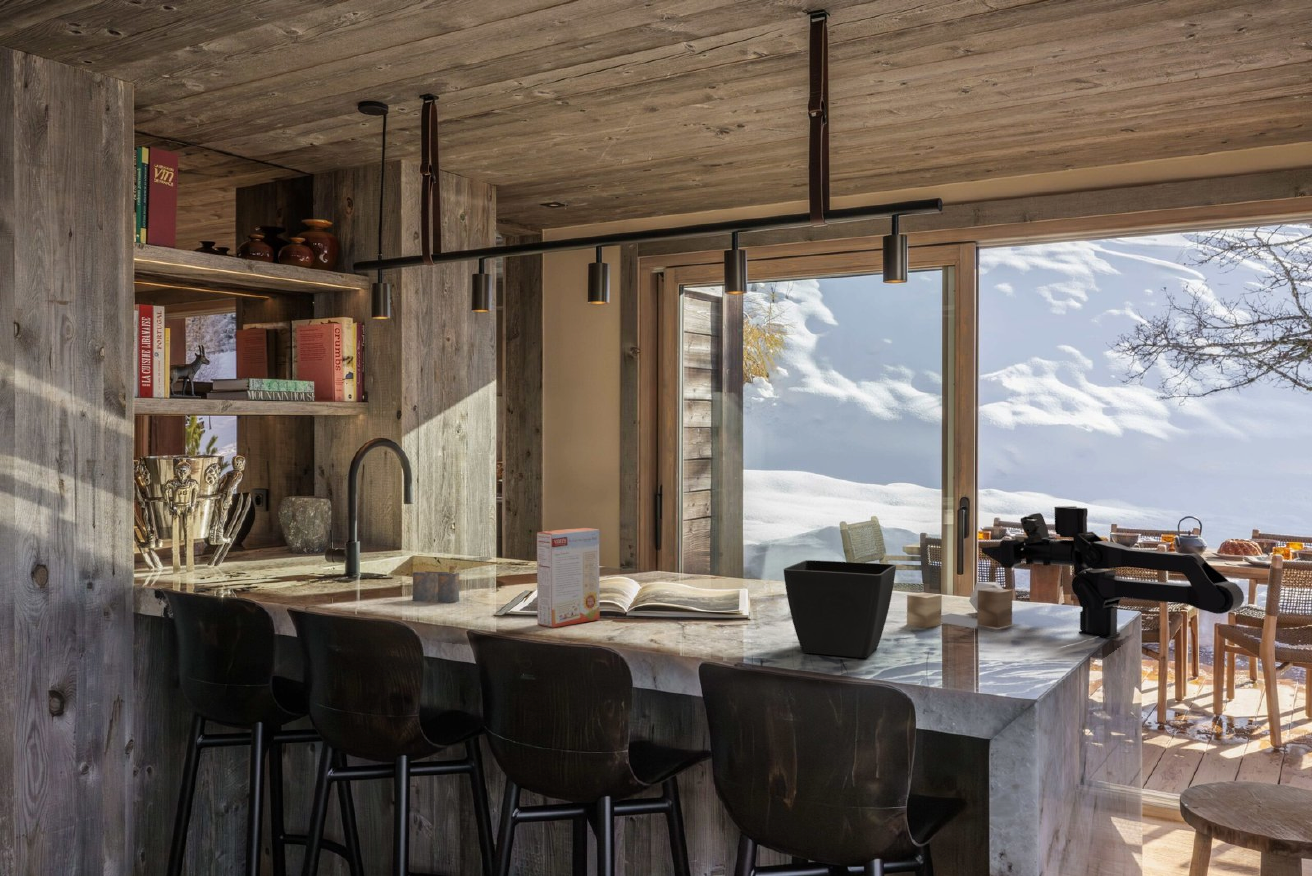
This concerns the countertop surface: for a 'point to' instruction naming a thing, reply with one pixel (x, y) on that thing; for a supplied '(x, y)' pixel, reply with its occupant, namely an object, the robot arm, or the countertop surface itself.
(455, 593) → the grooved slate block
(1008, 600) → the walnut block
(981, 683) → the countertop surface
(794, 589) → the flower pot
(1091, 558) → the robot arm
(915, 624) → the oak block
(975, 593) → the die
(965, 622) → the rubber mat
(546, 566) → the cracker box
